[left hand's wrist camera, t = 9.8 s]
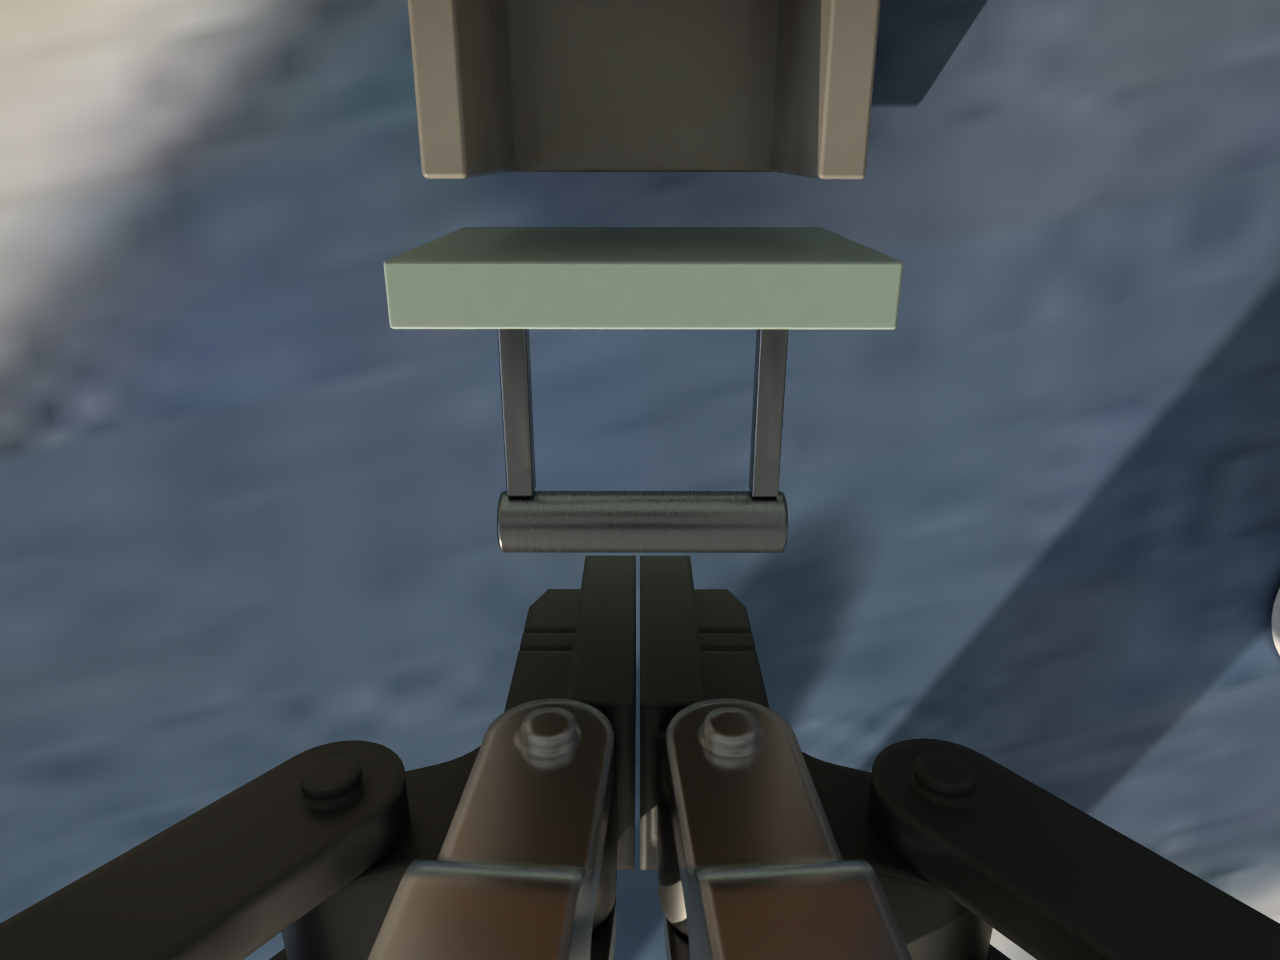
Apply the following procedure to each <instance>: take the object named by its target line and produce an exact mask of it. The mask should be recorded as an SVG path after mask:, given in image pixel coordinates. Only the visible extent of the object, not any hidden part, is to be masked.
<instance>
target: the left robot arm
mask: <svg viewBox="0 0 1280 960" xmlns="http://www.w3.org/2000/svg"><path fill="white" fill-rule="evenodd" d="M635 727H636V556H586V557H585V564H584V572H583V579H582V587H581V589H548V590H547V591H546V592H545V593H544V594H543V595H542V596H541V597H540V598H539V599H538V600H537V601H536V602H535V603H534V604H533V605H532V606H530V607H529V611H528V615H527V620H526V624H525V628H524V633H523V636H522V640H521V644H520V651H519V653H518V657H517V661H516V665H515V669H514V674H513V678H512V682H511V686H510V690H509V694H508V699H507V703H506V707H505V711H504V713H503V714H501V715H500V716H499V717H498V718H497V719H495V720H494V721H493V723H492V724H491V725H490V726H489V728H488V730H487V732H486V734H485V736H484V739H483V741H482V744H481V746H480V747H478V748H477V749H475V750H474V751H472V752H470V753H468V754H466V755H464V756H462V757H459V758H457V759H454V760H451V761H448V762H445V763H441V764H437V765H433V766H429V767H424V768H420V769H415V770H411V771H406V772H405V770H404V766H403V763H402V761H401V759H400V758H399V757H398V755H397V754H396V753H394V752H393V751H392V750H391V749H389V748H387V747H385V746H383V745H380V744H377V743H373V742H367V741H340V742H334V743H328V744H325V745H321V746H318V747H315V748H312V749H309V750H307V751H304V752H302V753H300V754H298V755H296V756H294V757H293V758H291V759H289V760H287V761H285V762H284V763H282V764H280V765H278V766H277V767H275V768H273V769H271V770H270V771H268V772H266V773H264V774H263V775H261V776H259V777H257V778H256V779H254V780H252V781H250V782H249V783H247V784H245V785H243V786H242V787H240V788H238V789H236V790H235V791H233V792H231V793H229V794H227V795H226V796H224V797H222V798H220V799H219V800H217V801H215V802H213V803H212V804H210V805H208V806H206V807H205V808H203V809H201V810H199V811H198V812H196V813H194V814H192V815H191V816H189V817H187V818H185V819H184V820H182V821H180V822H178V823H176V824H175V825H173V826H171V827H169V828H168V829H166V830H164V831H162V832H161V833H159V834H157V835H155V836H154V837H152V838H150V839H148V840H147V841H145V842H143V843H141V844H140V845H138V846H136V847H134V848H133V849H131V850H129V851H127V852H125V853H124V854H122V855H120V856H118V857H117V858H115V859H113V860H111V861H110V862H108V863H106V864H104V865H103V866H101V867H99V868H97V869H96V870H94V871H92V872H90V873H89V874H87V875H85V876H83V877H82V878H80V879H78V880H76V881H75V882H73V883H71V884H69V885H67V886H66V887H64V888H62V889H60V890H59V891H57V892H55V893H53V894H52V895H50V896H48V897H46V898H45V899H43V900H41V901H39V902H38V903H36V904H34V905H32V906H31V907H29V908H27V909H25V910H24V911H22V912H20V913H18V914H16V915H15V916H13V917H11V918H9V919H8V920H6V921H4V922H2V923H1V924H0V960H243V959H244V958H246V957H247V956H248V955H250V954H251V953H253V952H254V951H255V950H257V949H258V948H259V947H261V946H262V945H264V944H265V943H266V942H268V941H269V940H271V939H272V938H273V937H275V936H276V935H277V934H279V933H280V932H282V936H283V941H284V946H285V948H284V949H283V950H281V951H280V952H279V953H277V954H276V955H275V956H273V957H272V958H271V959H269V960H613V957H614V948H615V940H616V876H617V870H634V855H635ZM640 870H658V897H659V903H660V906H661V908H662V911H663V913H664V940H665V948H666V957H667V960H1011V959H1009V958H1008V957H1007V956H1005V955H1004V954H1003V953H1001V952H1000V951H999V950H997V949H996V948H994V947H993V946H992V945H990V939H991V934H992V928H994V929H996V930H997V931H998V932H1000V933H1001V934H1003V935H1004V936H1005V937H1007V938H1008V939H1009V940H1011V941H1012V942H1014V943H1015V944H1016V945H1018V946H1019V947H1021V948H1022V949H1023V950H1025V951H1026V952H1027V953H1029V954H1030V955H1032V956H1033V957H1034V958H1036V959H1037V960H1280V924H1279V923H1278V922H1276V921H1274V920H1272V919H1271V918H1269V917H1267V916H1265V915H1263V914H1262V913H1260V912H1258V911H1256V910H1255V909H1253V908H1251V907H1249V906H1248V905H1246V904H1244V903H1242V902H1241V901H1239V900H1237V899H1235V898H1234V897H1232V896H1230V895H1228V894H1227V893H1225V892H1223V891H1221V890H1220V889H1218V888H1216V887H1214V886H1212V885H1211V884H1209V883H1207V882H1205V881H1204V880H1202V879H1200V878H1198V877H1197V876H1195V875H1193V874H1191V873H1190V872H1188V871H1186V870H1184V869H1183V868H1181V867H1179V866H1177V865H1176V864H1174V863H1172V862H1170V861H1169V860H1167V859H1165V858H1163V857H1162V856H1160V855H1158V854H1156V853H1154V852H1153V851H1151V850H1149V849H1147V848H1146V847H1144V846H1142V845H1140V844H1139V843H1137V842H1135V841H1133V840H1132V839H1130V838H1128V837H1126V836H1125V835H1123V834H1121V833H1119V832H1118V831H1116V830H1114V829H1112V828H1111V827H1109V826H1107V825H1105V824H1103V823H1102V822H1100V821H1098V820H1096V819H1095V818H1093V817H1091V816H1089V815H1088V814H1086V813H1084V812H1082V811H1081V810H1079V809H1077V808H1075V807H1074V806H1072V805H1070V804H1068V803H1067V802H1065V801H1063V800H1061V799H1060V798H1058V797H1056V796H1054V795H1052V794H1051V793H1049V792H1047V791H1045V790H1044V789H1042V788H1040V787H1038V786H1037V785H1035V784H1033V783H1031V782H1030V781H1028V780H1026V779H1024V778H1023V777H1021V776H1019V775H1017V774H1016V773H1014V772H1012V771H1010V770H1009V769H1007V768H1005V767H1003V766H1002V765H1000V764H998V763H996V762H994V761H993V760H991V759H989V758H987V757H986V756H984V755H982V754H980V753H978V752H976V751H974V750H972V749H970V748H967V747H964V746H962V745H959V744H955V743H951V742H947V741H942V740H936V739H911V740H905V741H901V742H898V743H894V744H892V745H890V746H888V747H887V748H885V749H884V750H883V751H881V752H880V753H879V755H878V756H877V757H876V759H875V761H874V764H873V767H872V773H871V772H866V771H862V770H857V769H853V768H848V767H844V766H839V765H835V764H832V763H828V762H824V761H822V760H819V759H816V758H814V757H811V756H809V755H808V754H806V753H804V752H802V751H801V749H800V747H799V744H798V741H797V739H796V736H795V734H794V732H793V730H792V728H791V726H790V725H789V724H788V723H787V721H786V720H785V719H783V718H782V717H781V716H780V715H779V714H777V713H776V712H774V711H772V710H771V709H769V705H768V701H767V696H766V692H765V688H764V683H763V679H762V675H761V670H760V666H759V662H758V657H757V653H756V651H755V644H754V640H753V636H752V633H751V627H750V623H749V618H748V614H747V610H746V607H745V606H744V605H743V604H742V603H741V602H740V601H739V600H738V599H737V598H735V597H734V596H733V595H732V594H731V593H730V592H729V591H728V590H727V589H694V584H693V576H692V568H691V560H690V556H640Z"/></svg>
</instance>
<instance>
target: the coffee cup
mask: <svg viewBox="0 0 1280 960" xmlns="http://www.w3.org/2000/svg"><path fill="white" fill-rule="evenodd" d="M1272 635H1273V639H1274V643H1275V646H1276V649H1277V651H1278V653H1279V655H1280V588H1279V590H1278V593H1277V596H1276V599H1275V602H1274V606H1273V612H1272Z"/></svg>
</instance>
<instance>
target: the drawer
mask: <svg viewBox="0 0 1280 960" xmlns="http://www.w3.org/2000/svg"><path fill="white" fill-rule="evenodd" d="M880 3H881V0H408V11H409V23H410V35H411V47H412V59H413V71H414V83H415V95H416V107H417V119H418V131H419V143H420V155H421V167H422V174H423V176H424V177H426V178H428V179H464V178H471V177H478V176H484V175H491V174H498V173H504V172H778V173H785V174H792V175H799V176H805V177H812V178H819V179H862V178H864V176H865V174H866V162H867V151H868V139H869V128H870V117H871V105H872V94H873V83H874V71H875V60H876V49H877V37H878V26H879V14H880ZM902 271H903V262H902V261H899V260H897V259H895V258H892V257H890V256H887V255H885V254H883V253H880V252H878V251H875V250H873V249H871V248H868V247H866V246H864V245H861V244H859V243H856V242H854V241H852V240H849V239H847V238H844V237H842V236H840V235H837V234H835V233H833V232H830V231H828V230H825V229H823V228H783V227H464V228H461V229H459V230H457V231H454V232H452V233H450V234H447V235H445V236H443V237H440V238H438V239H435V240H433V241H431V242H428V243H426V244H424V245H421V246H419V247H417V248H414V249H412V250H410V251H407V252H405V253H403V254H400V255H398V256H396V257H393V258H391V259H389V260H386V261H384V272H385V282H386V291H387V301H388V311H389V321H390V327H391V328H393V329H497V331H498V348H499V366H500V383H501V400H502V418H503V435H504V453H505V470H506V487H507V491H504V492H502V493H501V495H500V498H499V502H498V510H497V536H498V543H499V547H500V549H501V551H502V552H531V553H781V552H783V551H784V549H785V547H786V543H787V535H788V511H787V503H786V498H785V496H784V493H783V492H781V491H778V489H779V473H780V457H781V441H782V425H783V409H784V392H785V376H786V360H787V344H788V329H895V328H896V326H897V318H898V308H899V299H900V289H901V280H902ZM529 329H757V333H756V354H755V374H754V395H753V415H752V435H751V456H750V476H749V489H750V491H535V487H536V479H535V457H534V434H533V412H532V389H531V367H530V345H529Z"/></svg>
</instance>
